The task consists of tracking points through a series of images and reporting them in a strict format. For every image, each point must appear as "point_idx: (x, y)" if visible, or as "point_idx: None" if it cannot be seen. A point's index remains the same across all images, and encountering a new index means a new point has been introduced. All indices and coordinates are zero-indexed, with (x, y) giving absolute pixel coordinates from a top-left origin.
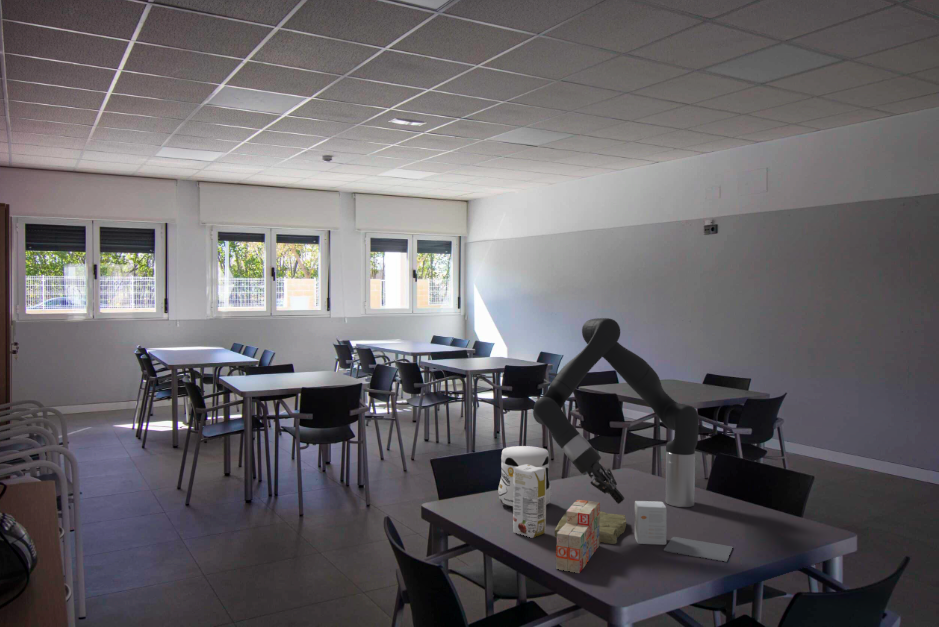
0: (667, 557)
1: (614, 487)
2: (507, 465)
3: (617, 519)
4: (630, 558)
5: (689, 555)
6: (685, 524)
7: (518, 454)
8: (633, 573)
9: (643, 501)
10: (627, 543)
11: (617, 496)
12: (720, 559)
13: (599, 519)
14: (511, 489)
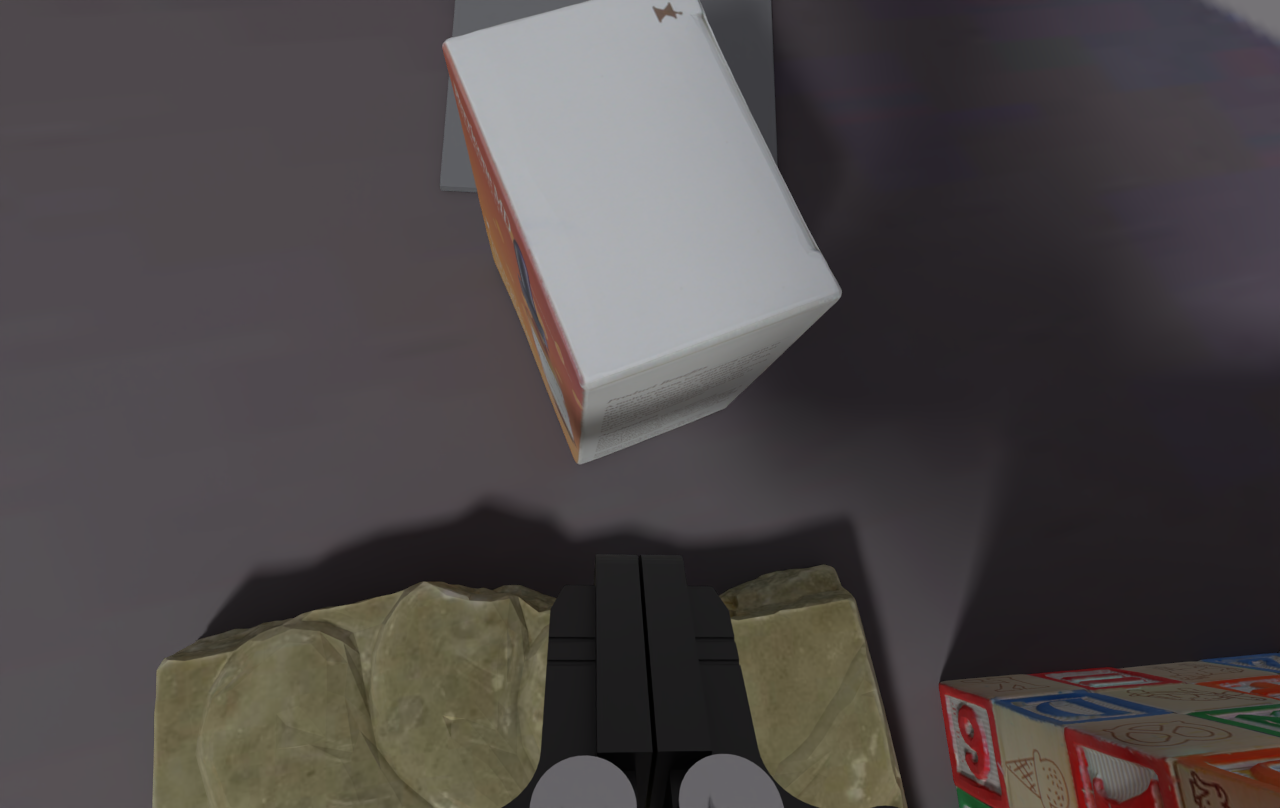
0: (879, 169)
1: (681, 784)
2: None
3: (405, 686)
4: (1045, 386)
5: (770, 50)
6: (20, 143)
7: None
8: (1267, 311)
9: (566, 265)
10: (758, 483)
11: (736, 651)
12: None
13: (1111, 737)
14: None
